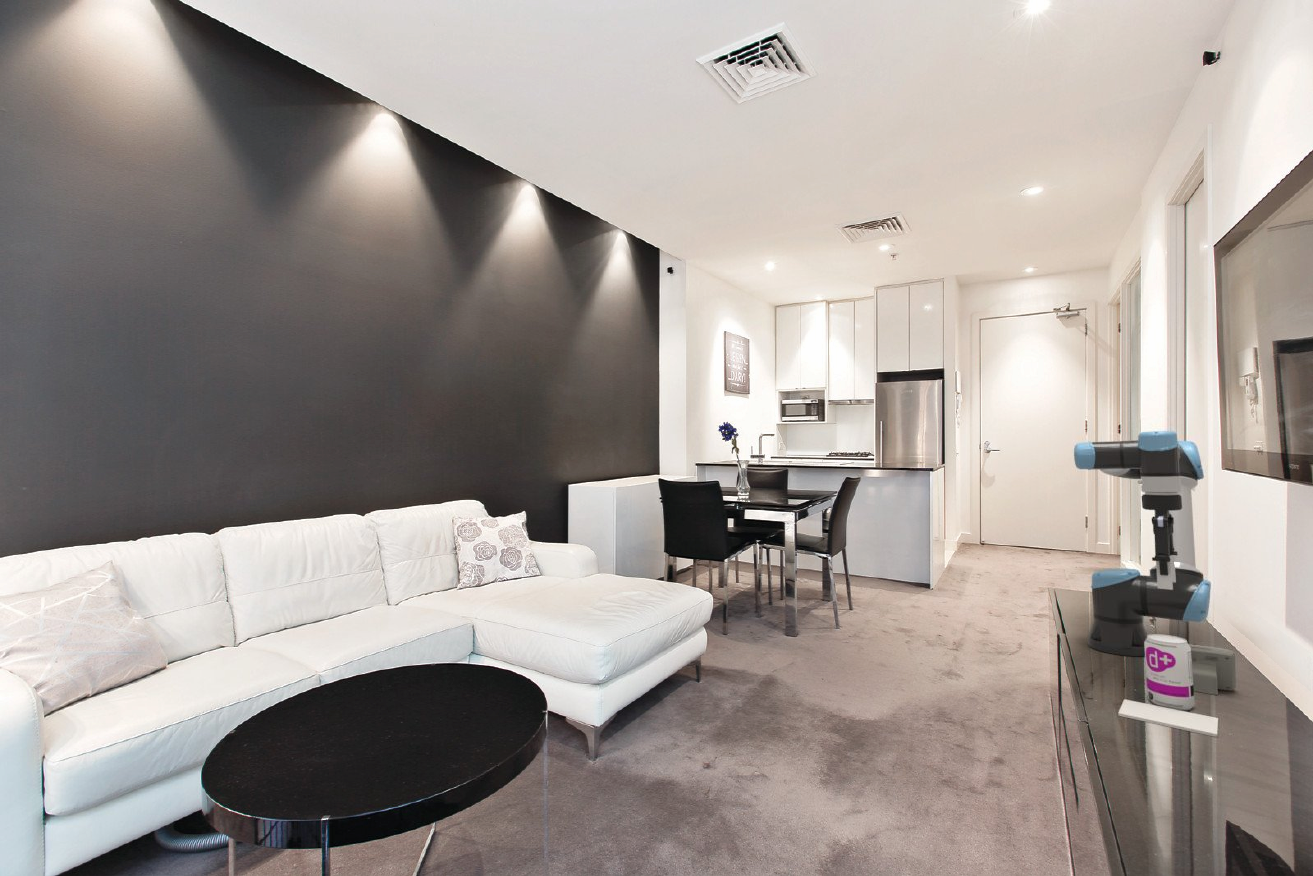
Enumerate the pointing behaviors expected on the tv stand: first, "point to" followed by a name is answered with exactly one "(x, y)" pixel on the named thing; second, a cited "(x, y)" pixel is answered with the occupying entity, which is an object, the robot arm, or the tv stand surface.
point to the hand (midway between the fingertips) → (1167, 585)
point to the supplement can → (1169, 671)
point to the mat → (1169, 717)
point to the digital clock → (1212, 669)
